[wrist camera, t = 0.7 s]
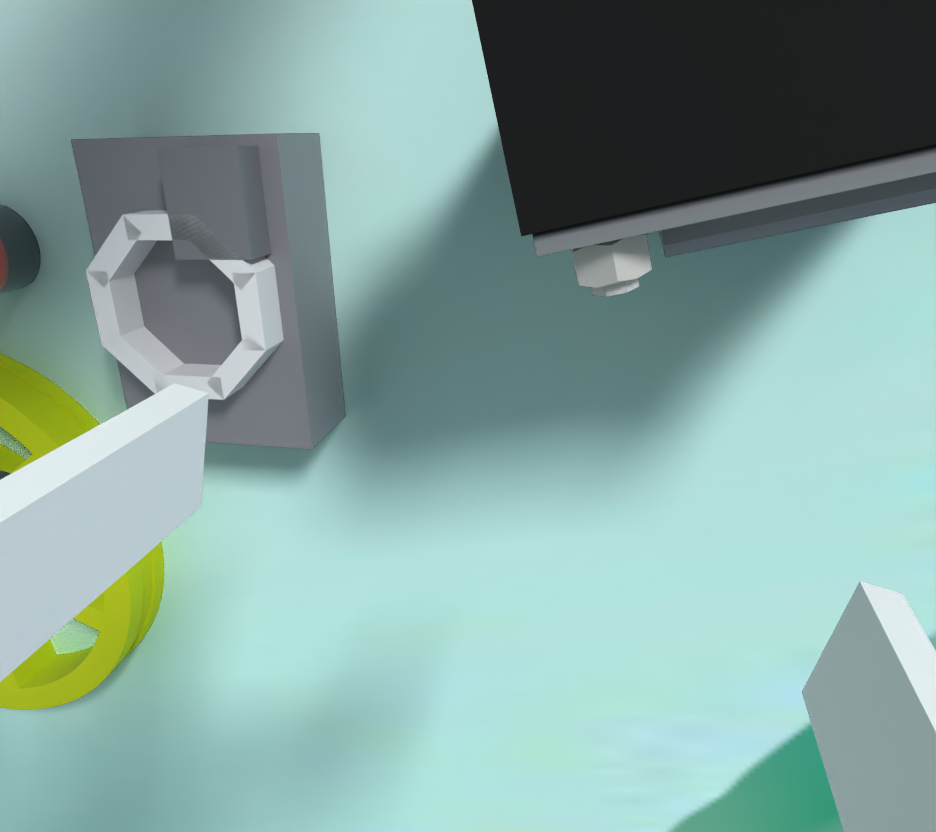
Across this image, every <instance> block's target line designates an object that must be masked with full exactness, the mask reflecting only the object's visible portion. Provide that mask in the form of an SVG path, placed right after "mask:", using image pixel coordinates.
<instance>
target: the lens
mask: <svg viewBox="0 0 936 832" xmlns="http://www.w3.org/2000/svg"><path fill="white" fill-rule="evenodd" d="M39 267H40V250H39V246H38V242H37V240H36V237H35V235H34V233H33V231H32V229H31V228H30V226H29V225H28V224H27V222H26V221H25V220H24V219H23V218H22V217H21V216H20V215H19V214H18V213H16V212H15V211H14V210H12V209H10V208H8V207H6V206H4V205H1V204H0V293H4V292H7V291H11V290H15V289H19V288H23V287H25V286H27V285H29V284H30V283H31V282H32V281H33V280H34V279H35V277H36V275H37V273H38V271H39Z"/></svg>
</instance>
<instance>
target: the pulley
mask: <svg viewBox="0 0 936 832" xmlns="http://www.w3.org/2000/svg"><path fill="white" fill-rule="evenodd" d="M98 425H100V424H99V423H98V422H97V421H96V420H95V419H94V418H93V417H92V416H91V415H90V414H89V413H88V412H87V411H86V410H85V409H84V408H83V407H82V406H81V405H80V404H79V403H78V402H77V401H76V400H74V399H73V398H72V397H71V396H70V395H68V394H67V393H66V392H65V391H63V390H62V389H61V388H60V387H58V386H57V385H55V384H54V383H53V382H51V381H50V380H49V379H47V378H45V377H44V376H42V375H41V374H39V373H38V372H36V371H34V370H33V369H31V368H29V367H27V366H26V365H24V364H22V363H20V362H18V361H16V360H14V359H12V358H10V357H7V356H5V355H3V354H0V427H2V428H3V429H4V430H5V431H7V432H8V433H9V434H11V435H12V436H13V437H14V438H16V439H17V440H18V441H19V442H20V443H22V444H23V445H24V446H25V447H26V448H27V449H28V450H29V451H30V452H31V453H32V455H31V456H29V457H28V458H27V459H26V460H25V459H24V458H23V457H21V456H20V455H19V454H17V453H15V452H14V451H12V450H10V449H9V448H7V447H5V446H3V445H1V444H0V471H5V472H8V473H13V472H15V471H17V470H19V469H21V468H23V467H24V466H26V465H28V464H30V463H32V462H33V461H35V460H37V459H39V458H41V457H42V456H44V455H46V454H48V453H50V452H51V451H53V450H55V449H57V448H59V447H61V446H62V445H64V444H66V443H68V442H70V441H71V440H73V439H75V438H77V437H79V436H80V435H82V434H84V433H86V432H88V431H89V430H91V429H93V428H95V427H97V426H98ZM163 585H164V557H163V549H162V542H160V543H159V544H158V545H157V546H155V547H154V548H153V549H152V550H151V551H150V552H149V553H147V554H146V555H145V556H144V557H143V558H142V559H141V560H139V561H138V562H137V563H136V564H135V565H134V566H133V567H131V568H130V569H129V570H128V571H127V572H126V573H124V574H123V575H122V576H121V577H120V578H119V579H118V580H116V581H115V582H114V583H113V584H112V585H111V586H110V587H108V588H107V589H106V590H105V591H104V592H103V593H102V594H100V595H99V596H98V597H97V598H96V599H95V600H94V601H92V602H91V603H90V604H89V605H88V606H87V607H86V608H84V609H83V610H82V611H81V612H80V613H79V614H78V615H76V616H75V617H74V618H73V619H75V620H77V621H79V622H82V623H84V624H86V625H88V626H90V627H92V628H94V629H96V630H98V631H100V632H99V635H98V638H97V640H96V642H95V645H94V646H92V647H90V648H87V649H84V650H81V651H78V652H74V653H68V654H60V655H56V653H55V650H54V648H53V645H52V643H51V641H50V639H49V640H48V641H47V642H45V643H44V644H43V645H42V646H41V647H40V648H39V649H37V650H36V651H35V652H34V653H33V654H32V655H31V656H29V657H28V658H27V659H26V660H25V661H24V662H23V663H21V664H20V665H19V666H18V667H17V668H16V669H14V670H13V671H12V672H11V673H10V674H9V675H8V676H6V677H5V678H4V679H3V680H2V681H1V682H0V707H1V708H9V709H23V710H27V709H43V708H50V707H55V706H59V705H62V704H66V703H68V702H71V701H74V700H76V699H78V698H80V697H82V696H84V695H85V694H87V693H89V692H90V691H91V690H93V689H94V688H95V687H97V686H98V685H99V684H100V683H101V682H102V681H103V680H104V679H105V678H106V677H107V676H108V675H109V674H110V673H111V672H112V671H113V670H114V669H115V668H116V667H117V665H118V664H119V663H120V662H121V661H122V660H123V659H124V658H125V657H126V656H127V655H128V654H129V653H130V652H131V651H132V650H133V649H134V648H135V647H136V646H137V645H138V644H139V642H140V641H141V640H142V639H143V638H144V636H145V635H146V634H147V632H148V630H149V629H150V627H151V625H152V623H153V621H154V619H155V617H156V614H157V612H158V609H159V606H160V602H161V598H162V592H163Z"/></svg>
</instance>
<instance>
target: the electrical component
mask: <svg viewBox="0 0 936 832" xmlns="http://www.w3.org/2000/svg"><path fill="white" fill-rule="evenodd" d="M472 3H473V7H474V12H475V17H476V22H477V27H478V31H479V36H480V41H481V46H482V50H483V55H484V60H485V65H486V69H487V74H488V79H489V84H490V89H491V93H492V98H493V103H494V108H495V112H496V117H497V122H498V127H499V132H500V136H501V141H502V146H503V151H504V155H505V160H506V165H507V170H508V175H509V179H510V184H511V189H512V194H513V198H514V203H515V208H516V213H517V218H518V222H519V227H520V232H521V236H525V235H529V234H533V239H534V244H535V249H536V254H537V257H538V256H542V255H547V254H552V253H556V252H561V251H566V250H571V251H572V256H573V261H574V266H575V271H576V277H577V281H578V285H579V286H585V287H591V290H592V295H595V296H604V297H608V296H613V295H618V294H622V293H627V292H629V291H631V290H633V289H635V288H637V287H639V281H638V278H639V277H641V276H642V275H644V274H646V273H647V272H649V271H650V270H652V267H651V261H650V254H649V248H648V242H647V236H646V233H651V232H655V231H659V234H660V238H661V242H662V246H663V249H664V253H665V257H669V256H674V255H679V254H684V253H689V252H694V251H699V250H704V249H709V248H714V247H719V246H724V245H729V244H734V243H739V242H744V241H749V240H753V239H758V238H763V237H768V236H773V235H778V234H783V233H788V232H793V231H798V230H803V229H808V228H813V227H818V226H823V225H828V224H833V223H838V222H843V221H848V220H853V219H857V218H862V217H867V216H872V215H877V214H882V213H887V212H892V211H897V210H902V209H907V208H912V207H917V206H922V205H927V204H932V203H936V0H472Z"/></svg>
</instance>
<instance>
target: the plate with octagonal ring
mask: <svg viewBox="0 0 936 832" xmlns="http://www.w3.org/2000/svg"><path fill="white" fill-rule="evenodd" d="M71 142H72V147H73V152H74V157H75V161H76V166H77V171H78V176H79V181H80V185H81V190H82V195H83V200H84V204H85V209H86V214H87V219H88V223H89V228H90V233H91V238H92V242H93V247H94V252H95V257H94V259H93V260H92V262H91V263H90V265H89V266H88V268H87V269H86V275H87V279H88V284H89V288H90V293H91V298H92V302H93V307H94V312H95V316H96V321H97V325H98V330H99V335H100V339H101V344H102V346H104V347H105V348H106V349H107V350H108V351H109V352H110V353H111V354H112V355H113V356H114V357H115V358H117V362H118V366H119V371H120V376H121V381H122V386H123V390H124V395H125V400H126V405H127V409H129V408H131V407H133V406H135V405H136V404H138V403H140V402H142V401H144V400H146V399H147V398H149V397H151V396H153V395H155V394H156V393H158V392H160V391H162V390H164V389H165V388H167V387H169V386H171V385H173V384H174V383H175V384H179V385H182V386H186V387H189V388H192V389H196V390H199V391H203V392H206V393H209V397H208V412H207V427H206V442H210V443H226V444H241V445H256V446H271V447H287V448H302V449H313V448H314V447H315V446H316V445H317V444H318V443H319V442H320V441H321V440H322V439H323V438H324V437H325V436H326V435H327V434H328V433H329V432H330V431H331V430H332V429H333V428H334V427H335V426H336V425H337V424H338V423H339V422H340V421H341V420H342V419H343V418H344V417H345V407H344V396H343V385H342V375H341V364H340V353H339V342H338V332H337V321H336V310H335V299H334V289H333V278H332V267H331V256H330V246H329V235H328V224H327V213H326V203H325V192H324V181H323V170H322V160H321V149H320V138H319V133H287V134H245V135H211V136H176V137H142V138H108V139H73V140H71Z"/></svg>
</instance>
